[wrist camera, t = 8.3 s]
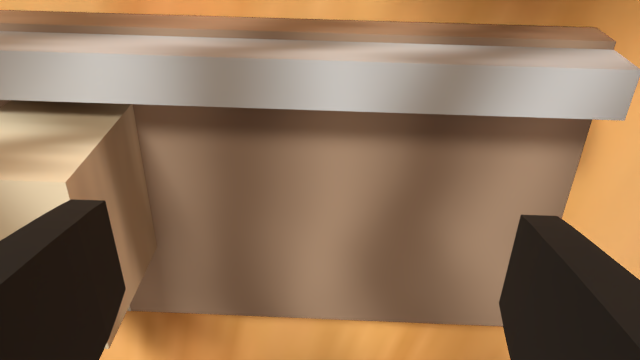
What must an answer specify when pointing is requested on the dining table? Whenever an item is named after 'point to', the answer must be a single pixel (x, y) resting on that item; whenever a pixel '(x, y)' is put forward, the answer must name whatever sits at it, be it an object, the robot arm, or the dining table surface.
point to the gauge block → (78, 174)
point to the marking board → (332, 150)
